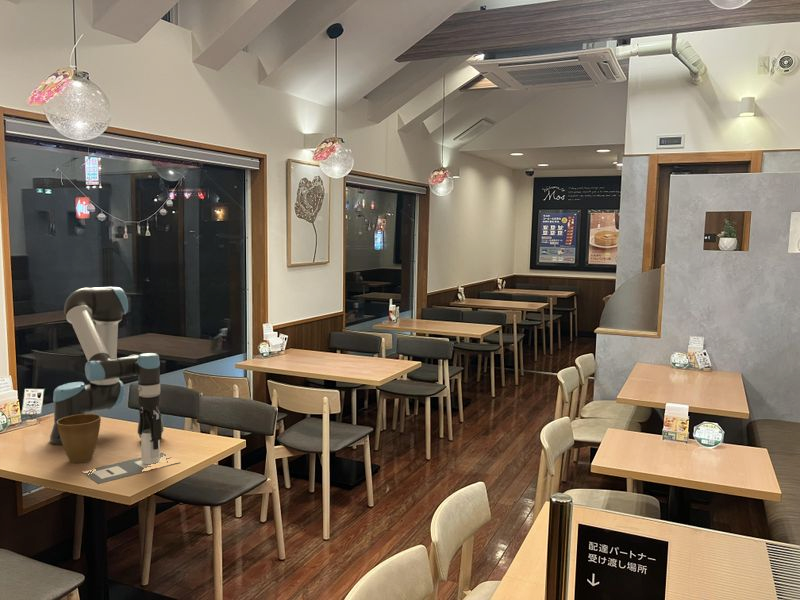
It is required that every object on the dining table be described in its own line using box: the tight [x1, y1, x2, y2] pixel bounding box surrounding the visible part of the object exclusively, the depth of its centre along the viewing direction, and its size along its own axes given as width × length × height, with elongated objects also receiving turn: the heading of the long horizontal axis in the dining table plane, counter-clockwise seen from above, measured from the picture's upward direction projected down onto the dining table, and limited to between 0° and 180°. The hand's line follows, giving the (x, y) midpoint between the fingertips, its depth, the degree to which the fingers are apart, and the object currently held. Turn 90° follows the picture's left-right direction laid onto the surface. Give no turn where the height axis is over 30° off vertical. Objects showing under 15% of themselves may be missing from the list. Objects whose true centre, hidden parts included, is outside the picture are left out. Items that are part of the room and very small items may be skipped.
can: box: [140, 429, 161, 465], centre depth 234 cm, size 6×6×12 cm
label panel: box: [83, 452, 172, 485], centre depth 230 cm, size 16×30×1 cm, turn 136°
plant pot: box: [57, 413, 102, 464], centre depth 236 cm, size 15×15×16 cm
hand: (150, 454), depth 234 cm, fingers closed on can, 6 cm apart
